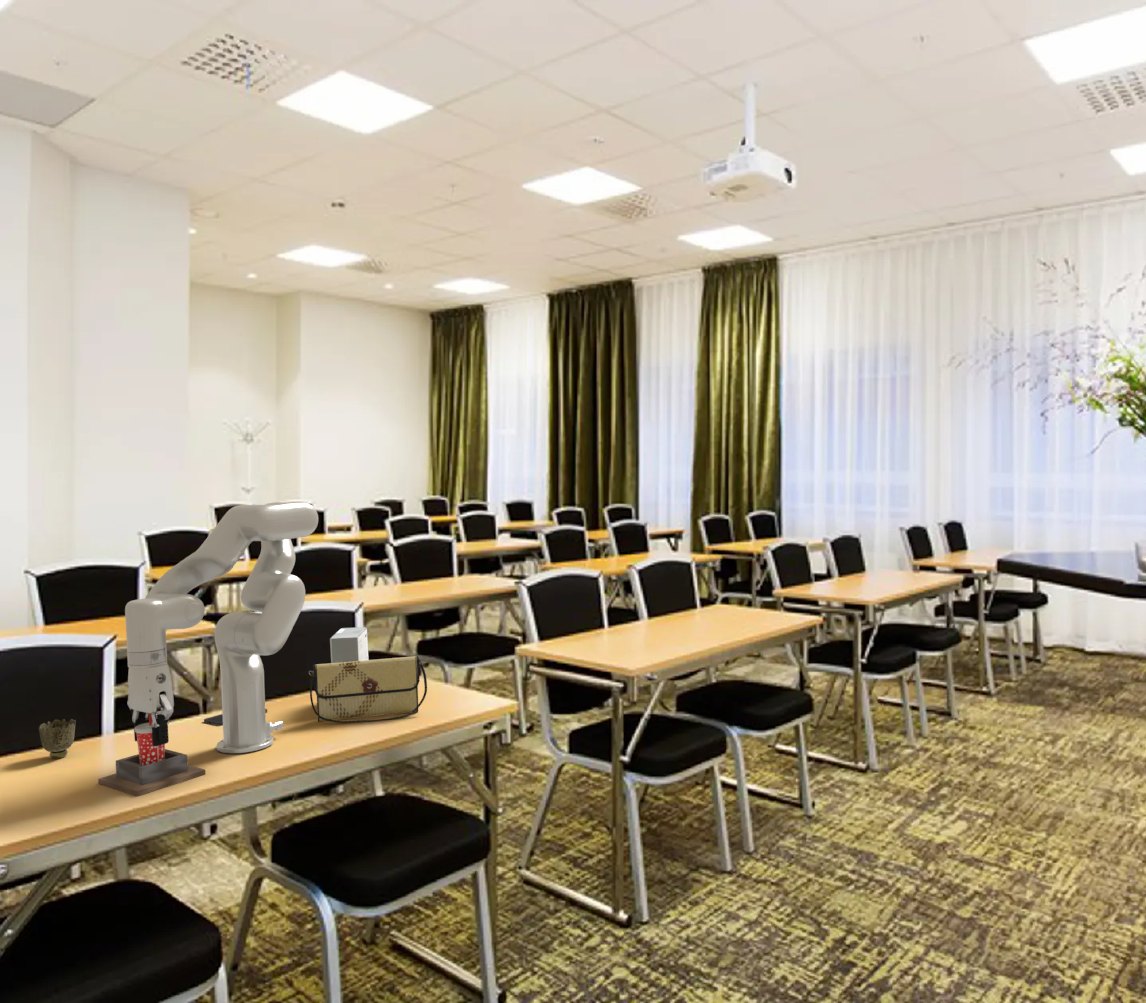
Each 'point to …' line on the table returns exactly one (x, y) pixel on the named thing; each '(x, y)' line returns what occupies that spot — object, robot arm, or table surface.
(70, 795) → the table surface
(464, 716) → the table surface
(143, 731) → the beverage cup
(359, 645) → the hard drive box
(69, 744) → the cup
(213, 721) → the phone
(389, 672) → the clutch purse
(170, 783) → the socket board
